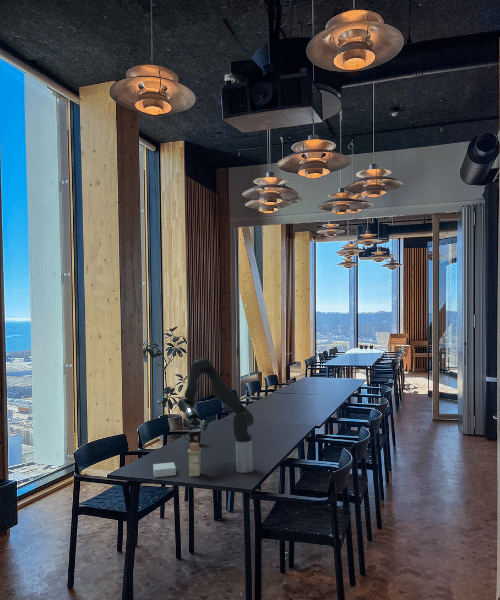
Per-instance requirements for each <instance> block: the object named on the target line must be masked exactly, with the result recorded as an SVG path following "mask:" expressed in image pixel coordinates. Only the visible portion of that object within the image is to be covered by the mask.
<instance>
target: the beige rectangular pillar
mask: <svg viewBox="0 0 500 600" xmlns="http://www.w3.org/2000/svg"><path fill="white" fill-rule="evenodd" d="M201 450H202V448H201V447H199V449H198V450H190V448H188V449H187V453H188V473H189V474H188V475H189V476H188V477H200V475H201V473H202V466H201V464H202V463H201V462H202V461H201Z"/></svg>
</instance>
